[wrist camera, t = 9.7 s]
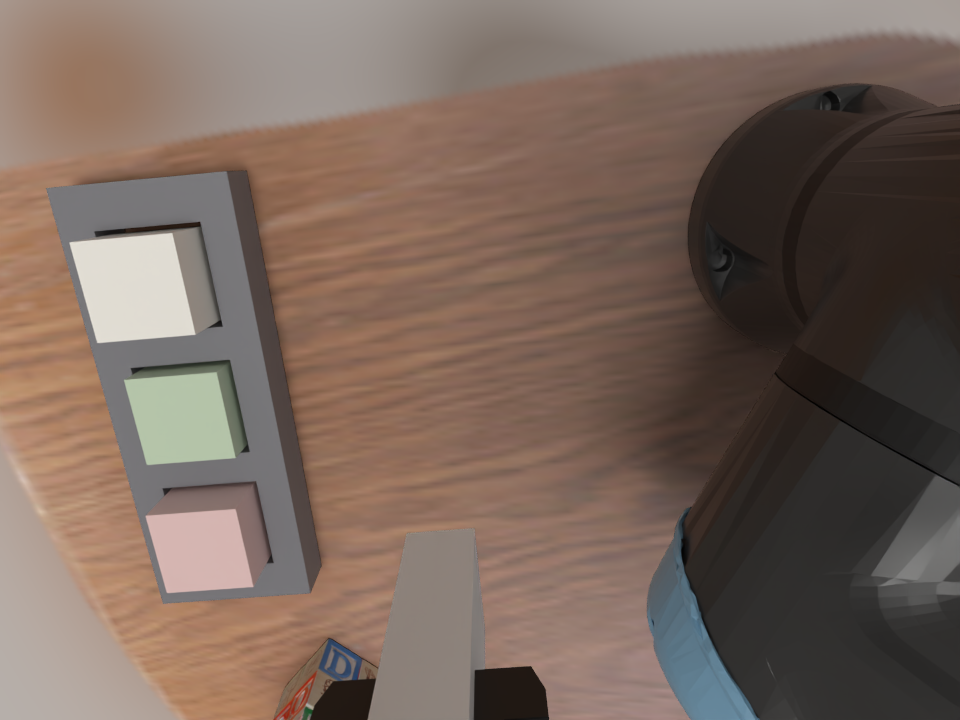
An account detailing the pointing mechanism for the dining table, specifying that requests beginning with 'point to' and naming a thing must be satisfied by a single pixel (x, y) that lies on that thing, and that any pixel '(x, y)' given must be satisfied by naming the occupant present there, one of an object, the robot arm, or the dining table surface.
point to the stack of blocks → (320, 679)
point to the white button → (147, 284)
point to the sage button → (187, 412)
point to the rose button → (210, 537)
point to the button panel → (235, 338)
